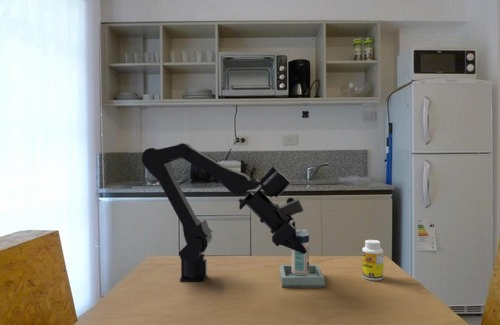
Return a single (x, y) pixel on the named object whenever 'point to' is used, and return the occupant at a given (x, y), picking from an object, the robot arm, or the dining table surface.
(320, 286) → the dish
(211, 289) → the dining table surface
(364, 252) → the supplement bottle
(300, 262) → the beer can
